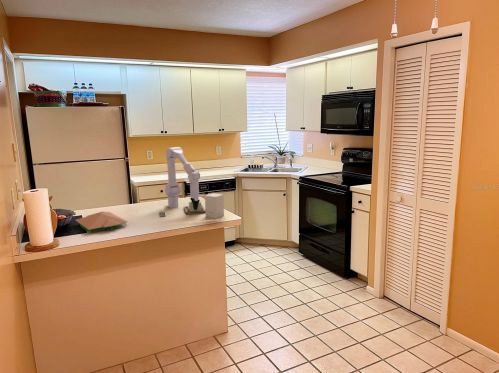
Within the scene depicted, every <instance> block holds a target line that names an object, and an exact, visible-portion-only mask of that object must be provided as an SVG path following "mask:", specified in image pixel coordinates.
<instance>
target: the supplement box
mask: <svg viewBox="0 0 499 373" xmlns="http://www.w3.org/2000/svg"><path fill="white" fill-rule="evenodd" d="M224 198H225V197H224V194H222V193H214V192H212V193H209V194H206V195H204V209H205V213H204V214H205V217H206V218H211V219H214V220H217V219H218V218H221V217H223V216H225V209H224V208H225V207H224V206H225V204H224V202H225V201H224V200H225V199H224Z"/></svg>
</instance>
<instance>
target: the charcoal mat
mask: <svg viewBox="0 0 499 373" xmlns="http://www.w3.org/2000/svg"><path fill="white" fill-rule="evenodd" d="M158 213H159V217H160V218H164V217H166V212H165V211H162V212H161V211H160V212H158Z"/></svg>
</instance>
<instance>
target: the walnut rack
mask: <svg viewBox="0 0 499 373" xmlns="http://www.w3.org/2000/svg"><path fill="white" fill-rule="evenodd" d="M187 207H189V205H188V206H186V205H185V206H183V210H184V212H185V214H186V216H187V215H198V214H199V215H200V214H206V213H205V206H203V205H202V204H201V208H202V211H193V212H189V209H187Z"/></svg>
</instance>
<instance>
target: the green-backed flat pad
mask: <svg viewBox="0 0 499 373" xmlns="http://www.w3.org/2000/svg"><path fill="white" fill-rule="evenodd" d="M75 221H76V222H77V223H79V227H81V228H82V229H83V230H84V231H86V232H87V233H89V234H91V233H92V232H96V233H98V232H100V233H101V231H106V230H111V229H112V231H113V230H115V228H119V227H120V225H121V227H123V226H124V225H127V223H128V221H127V220H125V219H124V218H122V217H120V216H118V215H116V214H114V213H113V212H111V211H98V212H96V213H92V214H90V215H86V216H84V217H80V218H77V219H75Z"/></svg>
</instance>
